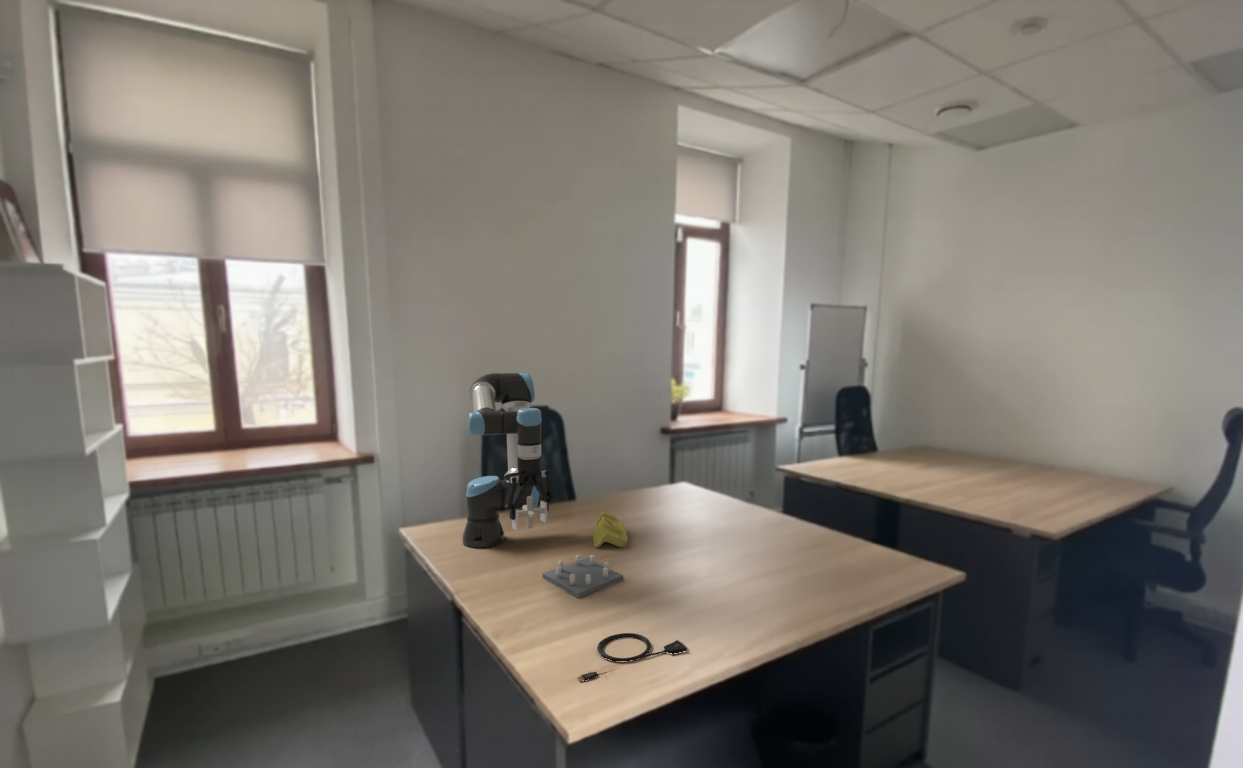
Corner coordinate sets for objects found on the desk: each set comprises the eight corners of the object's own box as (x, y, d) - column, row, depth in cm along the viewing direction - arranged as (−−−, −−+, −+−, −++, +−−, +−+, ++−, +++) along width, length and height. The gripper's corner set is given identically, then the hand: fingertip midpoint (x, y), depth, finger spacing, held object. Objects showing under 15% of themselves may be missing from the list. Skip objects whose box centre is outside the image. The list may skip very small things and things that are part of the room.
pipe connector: (519, 535, 167) (519, 503, 166) (510, 524, 176) (510, 494, 175) (549, 529, 172) (549, 499, 171) (539, 520, 181) (539, 491, 180)
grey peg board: (542, 578, 170) (542, 564, 170) (586, 562, 182) (586, 549, 182) (578, 598, 157) (578, 583, 156) (623, 579, 169) (623, 566, 169)
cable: (559, 653, 130) (559, 647, 130) (660, 626, 143) (660, 621, 143) (580, 685, 118) (580, 678, 118) (689, 653, 130) (689, 647, 130)
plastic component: (628, 542, 195) (603, 531, 193) (619, 559, 195) (594, 549, 194) (622, 520, 214) (599, 510, 212) (614, 536, 215) (591, 526, 213)
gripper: (504, 464, 162) (504, 536, 164) (565, 453, 177) (565, 520, 179) (491, 460, 167) (492, 530, 169) (551, 450, 182) (551, 514, 184)
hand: (529, 525), depth 174 cm, fingers closed on pipe connector, 10 cm apart
